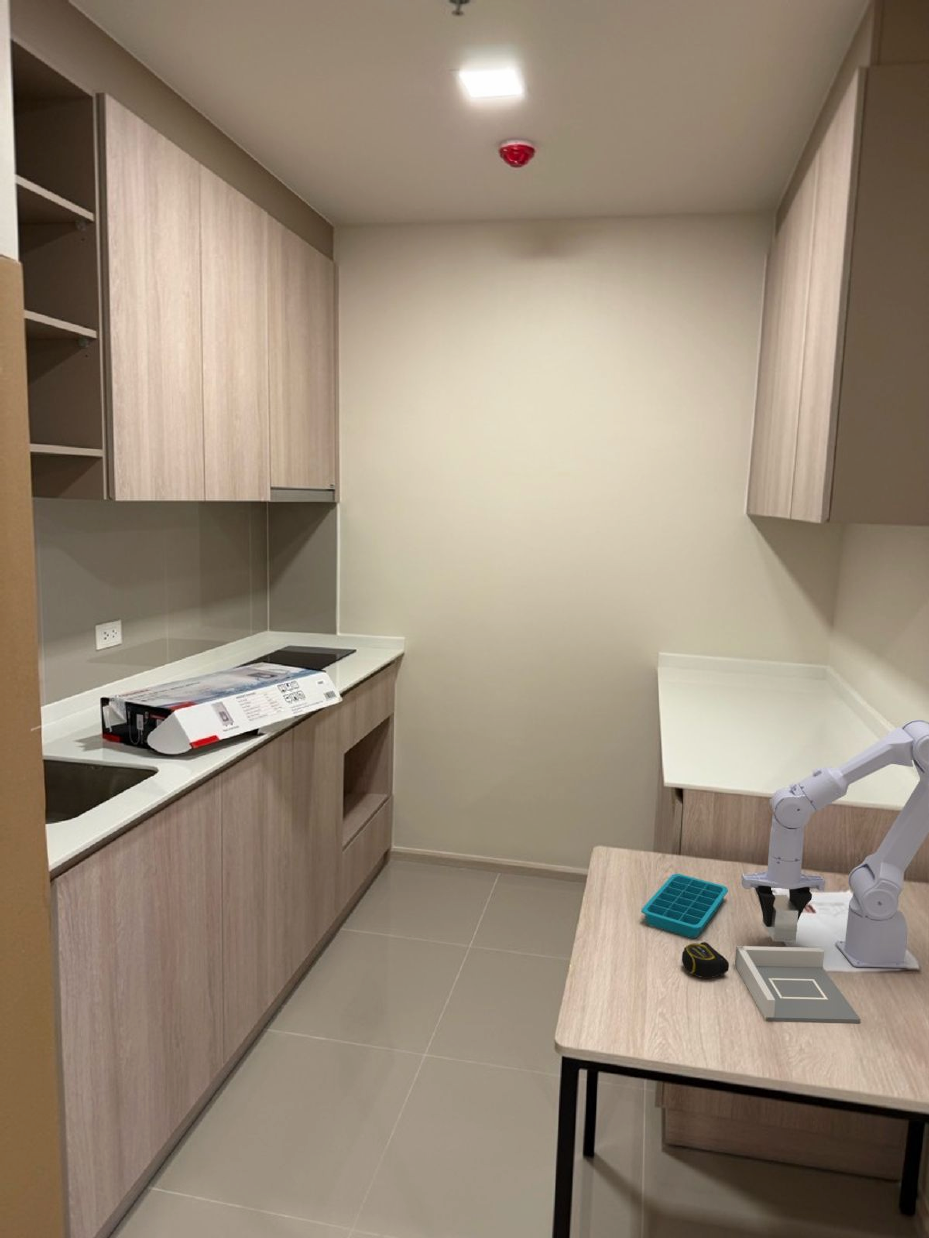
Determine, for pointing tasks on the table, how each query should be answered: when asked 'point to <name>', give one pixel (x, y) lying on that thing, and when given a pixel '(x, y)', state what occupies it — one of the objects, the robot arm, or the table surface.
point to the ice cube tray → (684, 905)
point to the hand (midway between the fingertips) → (779, 924)
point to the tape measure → (703, 960)
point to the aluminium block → (783, 920)
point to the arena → (792, 985)
